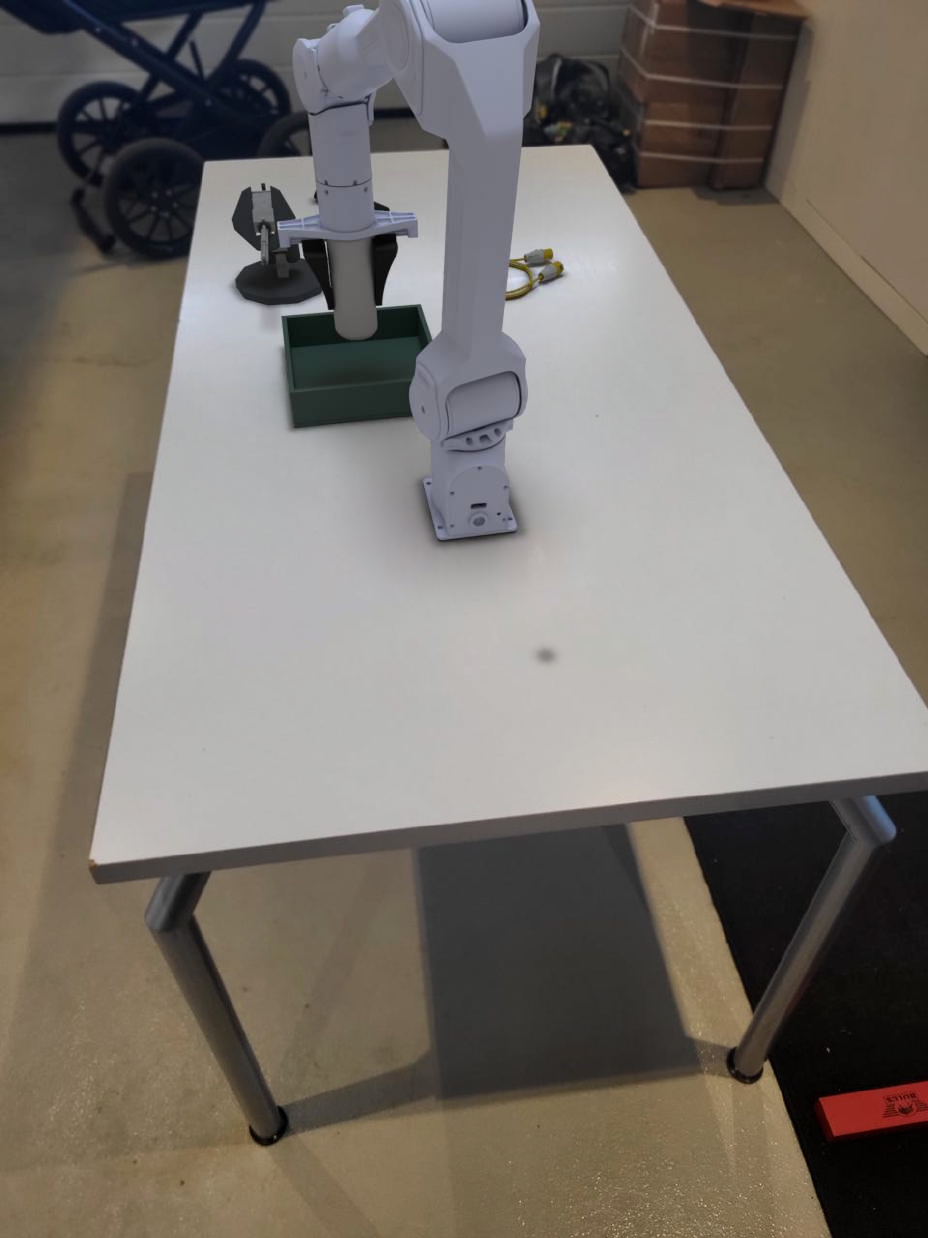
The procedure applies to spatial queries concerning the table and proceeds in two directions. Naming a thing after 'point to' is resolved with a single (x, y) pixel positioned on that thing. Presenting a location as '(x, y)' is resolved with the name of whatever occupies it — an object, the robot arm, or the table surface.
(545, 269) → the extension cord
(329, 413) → the open storage bin
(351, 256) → the beverage can
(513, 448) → the table surface
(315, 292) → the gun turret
